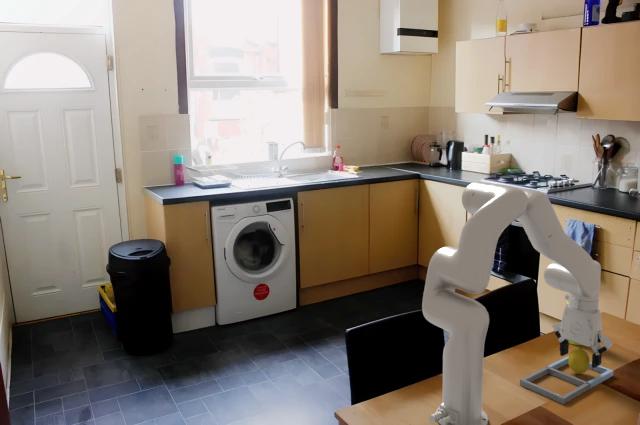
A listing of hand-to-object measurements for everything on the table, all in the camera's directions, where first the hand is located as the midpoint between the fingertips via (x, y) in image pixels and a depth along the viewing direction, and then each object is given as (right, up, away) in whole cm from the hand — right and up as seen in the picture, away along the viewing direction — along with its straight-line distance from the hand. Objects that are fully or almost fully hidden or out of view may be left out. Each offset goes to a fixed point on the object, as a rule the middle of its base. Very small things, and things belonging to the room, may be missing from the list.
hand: (579, 360), depth 159 cm
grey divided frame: (-5, -5, -3) cm, 7 cm away
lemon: (0, -4, +1) cm, 4 cm away
